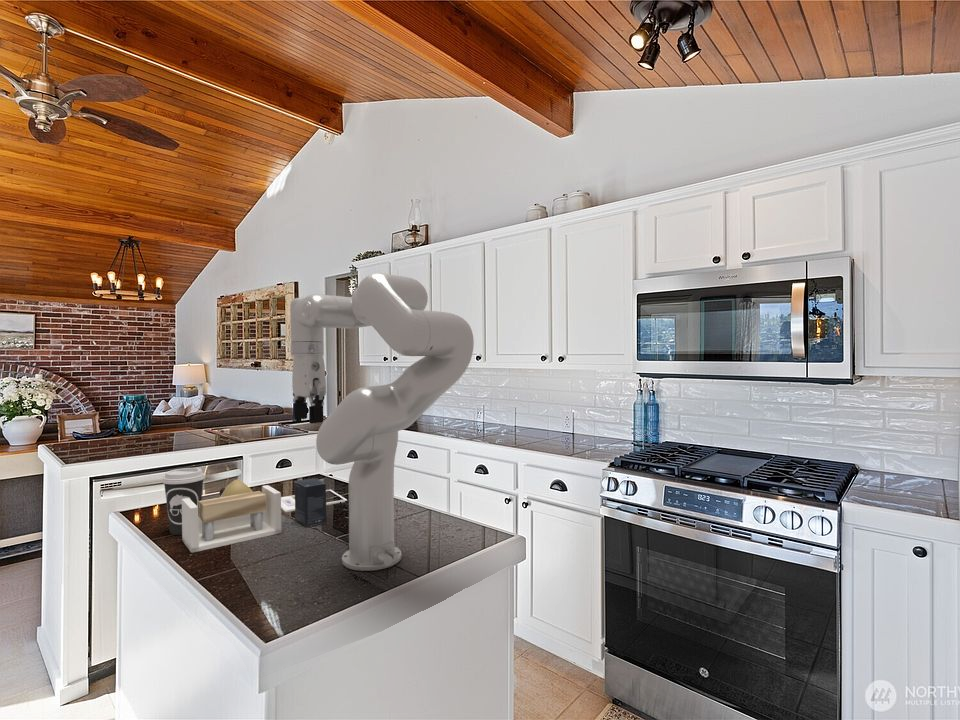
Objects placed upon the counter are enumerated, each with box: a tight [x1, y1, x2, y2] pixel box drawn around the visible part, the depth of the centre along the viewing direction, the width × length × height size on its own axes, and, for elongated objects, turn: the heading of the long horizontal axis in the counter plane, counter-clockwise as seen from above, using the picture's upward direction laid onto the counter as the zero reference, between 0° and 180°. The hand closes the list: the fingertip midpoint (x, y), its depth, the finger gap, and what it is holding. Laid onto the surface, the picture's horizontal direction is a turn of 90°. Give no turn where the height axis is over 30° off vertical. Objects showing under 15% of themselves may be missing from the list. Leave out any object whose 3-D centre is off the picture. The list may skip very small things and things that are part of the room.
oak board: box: [199, 490, 266, 523], centre depth 129 cm, size 5×14×4 cm, turn 130°
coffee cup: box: [161, 467, 206, 536], centre depth 134 cm, size 10×10×15 cm
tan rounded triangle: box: [219, 479, 254, 498], centre depth 144 cm, size 10×12×11 cm
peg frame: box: [181, 484, 282, 554], centre depth 129 cm, size 10×20×10 cm, turn 130°
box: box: [294, 478, 327, 528], centre depth 140 cm, size 8×6×11 cm
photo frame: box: [281, 488, 348, 513], centre depth 160 cm, size 15×1×18 cm
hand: (308, 420), depth 127 cm, fingers open, 9 cm apart
